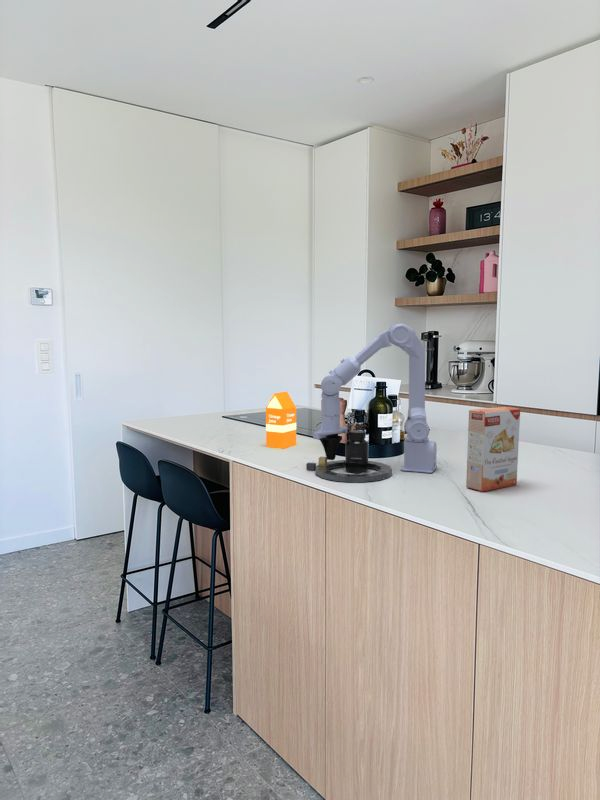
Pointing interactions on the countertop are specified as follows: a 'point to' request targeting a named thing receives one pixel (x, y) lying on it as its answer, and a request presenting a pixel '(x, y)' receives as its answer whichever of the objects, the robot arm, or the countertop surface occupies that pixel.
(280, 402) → the orange juice
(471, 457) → the cracker box
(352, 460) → the supplement bottle
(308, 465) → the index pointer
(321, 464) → the ring
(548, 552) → the countertop surface
